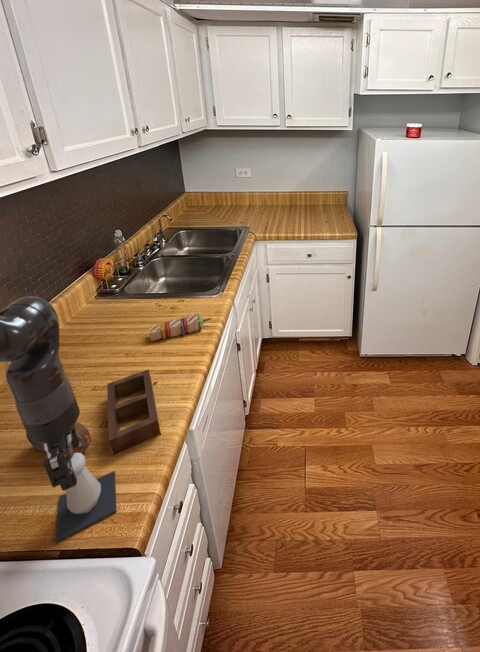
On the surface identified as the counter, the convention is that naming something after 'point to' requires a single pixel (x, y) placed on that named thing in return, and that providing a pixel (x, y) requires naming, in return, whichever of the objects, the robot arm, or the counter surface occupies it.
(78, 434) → the tin
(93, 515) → the mat
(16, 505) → the counter surface
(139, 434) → the rack
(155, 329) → the skewer
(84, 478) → the salt shaker
